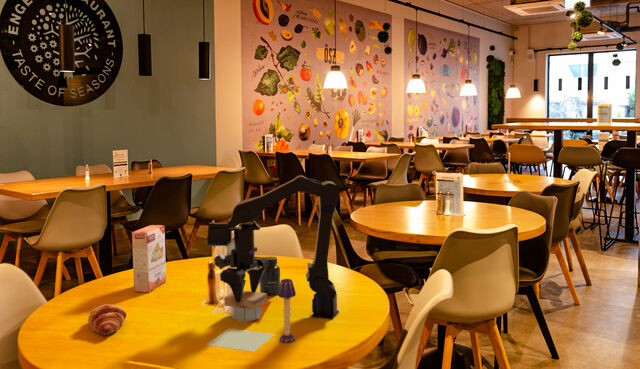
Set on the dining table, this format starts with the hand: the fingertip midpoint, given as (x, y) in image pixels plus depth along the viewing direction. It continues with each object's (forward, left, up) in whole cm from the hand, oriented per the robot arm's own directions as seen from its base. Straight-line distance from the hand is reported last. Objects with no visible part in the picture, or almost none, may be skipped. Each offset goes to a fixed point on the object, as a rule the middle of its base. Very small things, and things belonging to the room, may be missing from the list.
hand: (246, 297), depth 164 cm
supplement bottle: (+4, -24, -6) cm, 25 cm away
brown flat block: (0, 0, -2) cm, 2 cm away
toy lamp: (-19, +13, -6) cm, 24 cm away
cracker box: (+47, -17, -6) cm, 50 cm away
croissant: (+35, +18, -7) cm, 40 cm away
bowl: (0, 0, -6) cm, 6 cm away
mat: (-7, +16, -6) cm, 19 cm away
